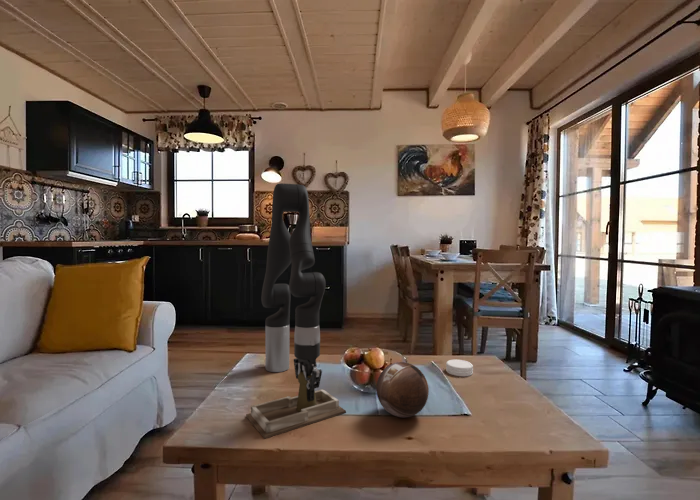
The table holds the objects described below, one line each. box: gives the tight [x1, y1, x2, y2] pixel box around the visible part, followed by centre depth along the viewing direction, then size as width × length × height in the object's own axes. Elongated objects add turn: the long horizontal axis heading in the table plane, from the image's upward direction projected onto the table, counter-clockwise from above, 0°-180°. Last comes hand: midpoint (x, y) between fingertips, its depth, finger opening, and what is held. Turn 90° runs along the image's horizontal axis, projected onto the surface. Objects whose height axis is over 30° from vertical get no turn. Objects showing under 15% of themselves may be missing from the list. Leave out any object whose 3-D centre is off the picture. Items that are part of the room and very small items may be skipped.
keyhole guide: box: [246, 388, 347, 440], centre depth 105 cm, size 14×25×3 cm, turn 125°
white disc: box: [445, 359, 474, 377], centre depth 141 cm, size 10×10×4 cm
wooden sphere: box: [376, 361, 430, 418], centre depth 106 cm, size 15×15×15 cm
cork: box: [296, 372, 316, 412], centre depth 107 cm, size 6×6×11 cm
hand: (306, 397), depth 107 cm, fingers closed on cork, 4 cm apart
